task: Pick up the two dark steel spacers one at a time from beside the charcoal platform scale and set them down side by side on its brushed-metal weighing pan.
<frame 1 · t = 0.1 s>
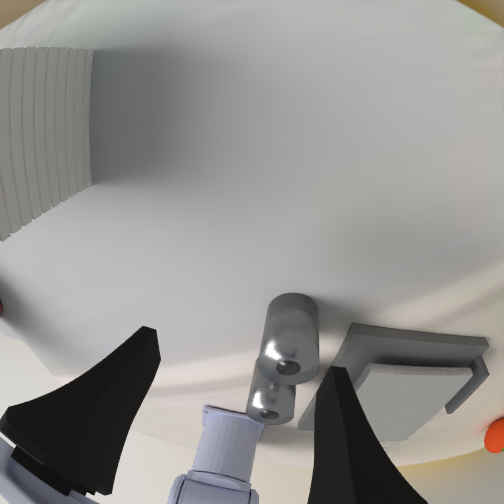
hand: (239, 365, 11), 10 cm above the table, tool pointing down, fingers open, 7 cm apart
spacer a: (276, 365, 26), on the table
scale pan: (391, 408, 24), point 2 cm above the table, slide at -0.2 cm
scale: (388, 390, 26), on the table
spacer b: (292, 313, 22), on the table
clementine: (497, 419, 30), on the table
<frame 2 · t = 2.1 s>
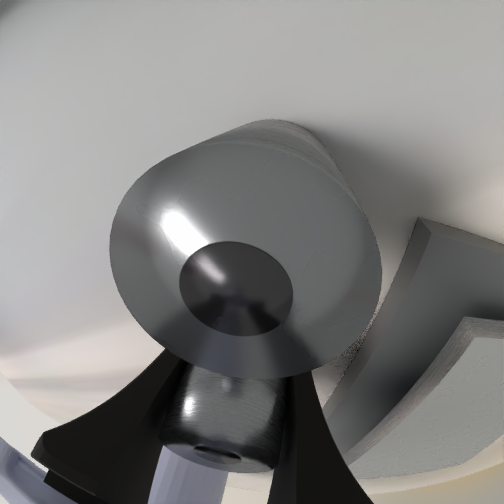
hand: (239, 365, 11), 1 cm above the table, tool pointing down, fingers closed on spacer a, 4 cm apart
spacer a: (245, 340, 12), on the table, touching gripper
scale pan: (466, 419, 10), point 2 cm above the table, slide at -0.2 cm
scale: (456, 386, 12), on the table
spacer b: (271, 183, 9), on the table
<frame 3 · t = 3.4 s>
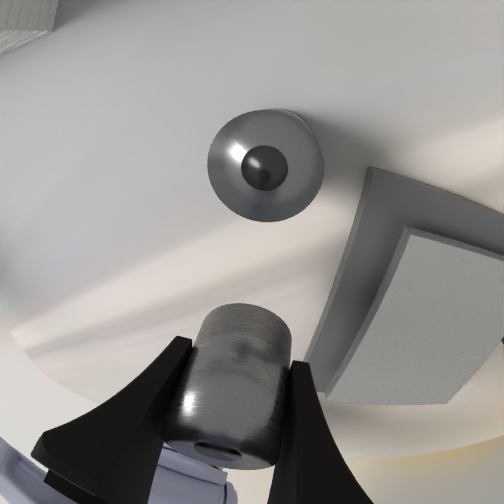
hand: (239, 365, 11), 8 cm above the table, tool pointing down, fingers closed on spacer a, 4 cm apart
spacer a: (246, 338, 12), point 6 cm above the table, touching gripper
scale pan: (436, 339, 16), point 2 cm above the table, slide at -0.2 cm
scale: (426, 315, 18), on the table
spacer b: (276, 145, 14), on the table
when the fingers open (6 cm above the table, at t = 5.0 s): spacer a drops 1 cm, resting on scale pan.
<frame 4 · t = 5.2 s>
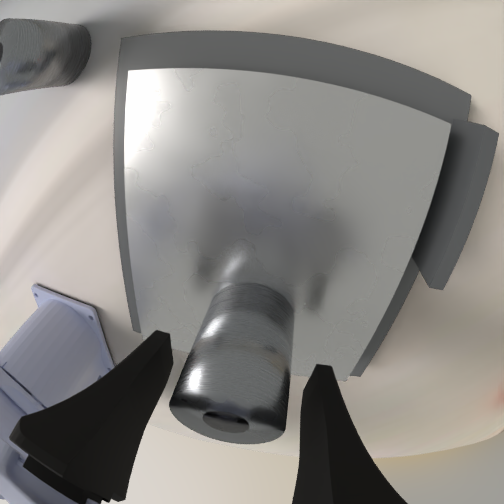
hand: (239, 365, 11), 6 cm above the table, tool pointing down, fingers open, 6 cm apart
spacer a: (251, 317, 13), point 3 cm above the table, touching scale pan
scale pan: (263, 249, 12), point 2 cm above the table, slide at -0.3 cm, touching spacer a
scale: (269, 226, 14), on the table
spacer b: (66, 55, 11), on the table
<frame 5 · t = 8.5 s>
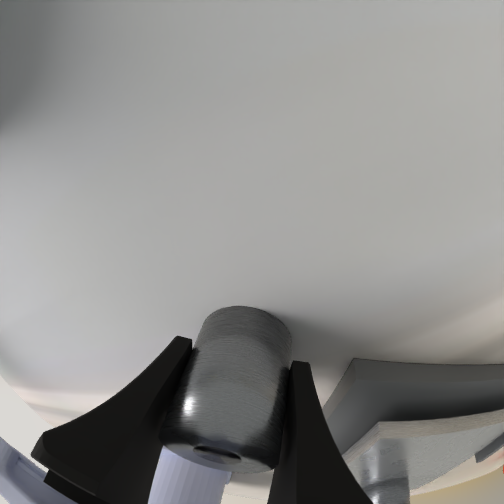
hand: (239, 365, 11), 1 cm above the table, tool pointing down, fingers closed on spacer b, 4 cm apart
spacer a: (384, 485, 15), point 3 cm above the table, touching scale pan
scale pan: (405, 464, 14), point 2 cm above the table, slide at -0.3 cm, touching spacer a
scale: (402, 437, 16), on the table
spacer b: (245, 340, 12), on the table, touching gripper
when the fingers open (6 cm above the table, at t = 11.4 s): spacer b drops 1 cm, resting on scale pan.
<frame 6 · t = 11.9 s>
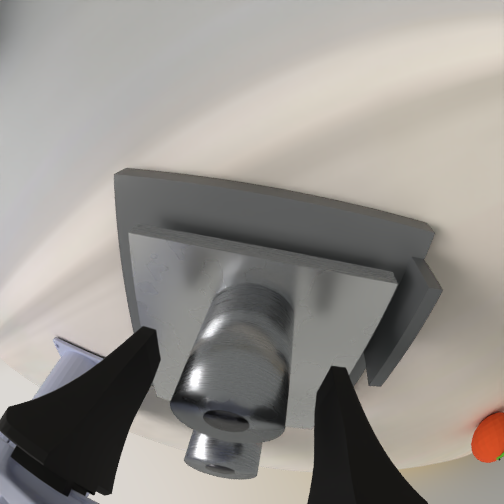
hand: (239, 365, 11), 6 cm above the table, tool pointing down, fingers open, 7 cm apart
spacer a: (237, 393, 17), point 3 cm above the table, touching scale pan
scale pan: (245, 353, 16), point 2 cm above the table, slide at -0.3 cm, touching spacer a, spacer b
scale: (251, 326, 18), on the table
spacer b: (251, 318, 13), point 3 cm above the table, touching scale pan
clementine: (490, 414, 22), on the table
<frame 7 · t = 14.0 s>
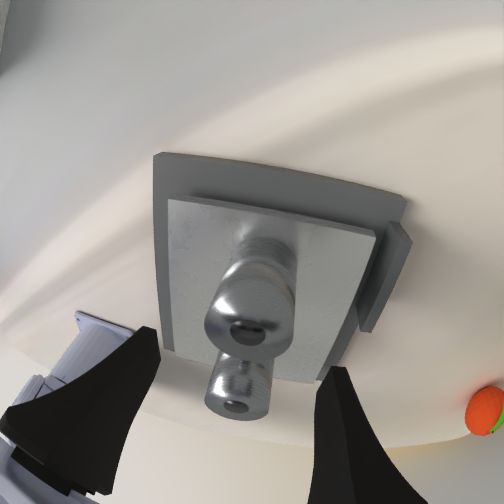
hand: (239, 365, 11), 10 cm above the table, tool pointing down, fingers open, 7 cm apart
spacer a: (249, 344, 21), point 3 cm above the table, touching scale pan
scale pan: (256, 304, 20), point 2 cm above the table, slide at -0.3 cm, touching spacer a, spacer b
scale: (260, 285, 22), on the table
spacer b: (263, 267, 17), point 3 cm above the table, touching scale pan
clementine: (481, 389, 26), on the table
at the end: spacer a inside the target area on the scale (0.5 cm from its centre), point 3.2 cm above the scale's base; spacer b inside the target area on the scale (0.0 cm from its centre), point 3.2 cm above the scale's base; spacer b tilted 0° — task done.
